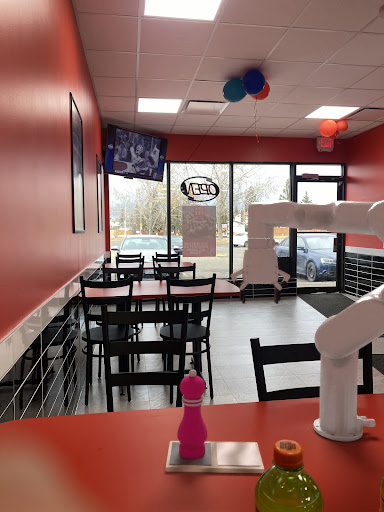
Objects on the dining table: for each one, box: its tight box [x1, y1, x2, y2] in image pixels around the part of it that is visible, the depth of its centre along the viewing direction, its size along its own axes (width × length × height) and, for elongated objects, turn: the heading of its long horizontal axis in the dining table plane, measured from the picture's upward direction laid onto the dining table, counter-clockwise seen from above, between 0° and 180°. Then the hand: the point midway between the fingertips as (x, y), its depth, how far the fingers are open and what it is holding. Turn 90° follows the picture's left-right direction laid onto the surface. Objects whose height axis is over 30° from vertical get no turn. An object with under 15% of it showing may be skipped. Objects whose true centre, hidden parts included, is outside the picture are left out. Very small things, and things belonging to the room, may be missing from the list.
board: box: [165, 440, 265, 474], centre depth 98 cm, size 22×12×1 cm, turn 88°
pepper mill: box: [176, 369, 208, 459], centre depth 98 cm, size 7×7×20 cm
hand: (259, 303), depth 121 cm, fingers open, 9 cm apart
